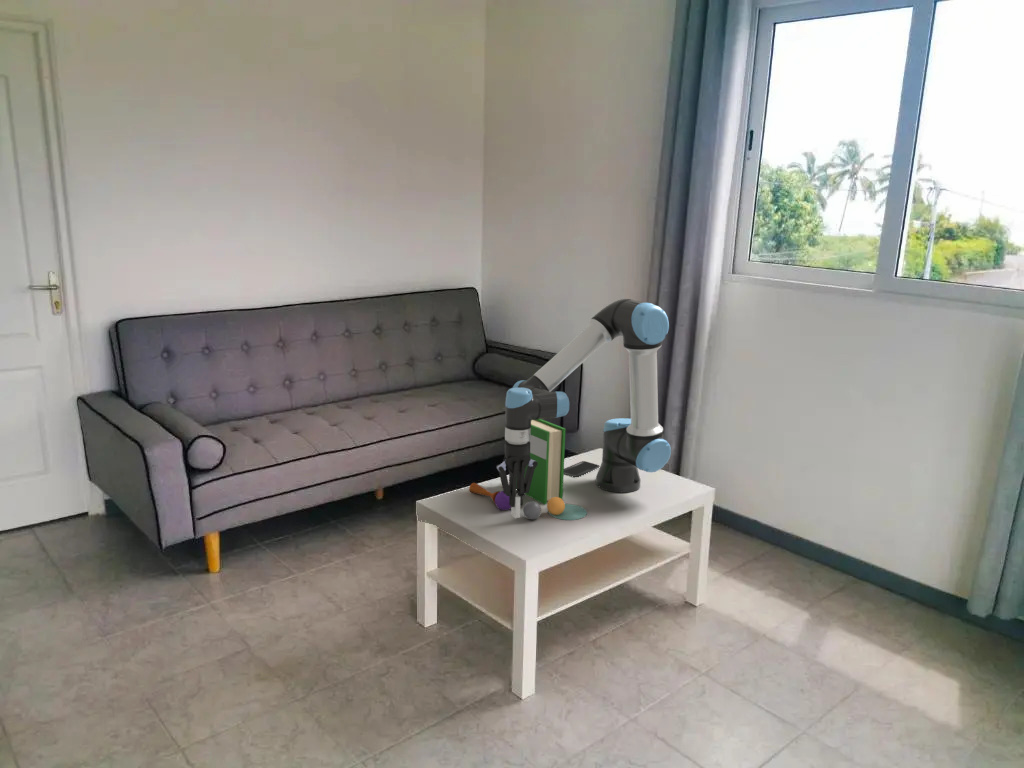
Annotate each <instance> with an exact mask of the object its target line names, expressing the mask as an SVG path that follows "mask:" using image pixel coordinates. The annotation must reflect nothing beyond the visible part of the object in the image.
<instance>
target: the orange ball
mask: <svg viewBox="0 0 1024 768" xmlns="http://www.w3.org/2000/svg"><path fill="white" fill-rule="evenodd" d="M565 504H566V503H565V501H564V500H562V499H561V498H559V497H553V498H551V499H550V500H548V501H547V504H546V509H547V512H548V511H549V512H550V513H551V514H553V515H559V514H561V513H562V512H563V511H564V509H565Z"/></svg>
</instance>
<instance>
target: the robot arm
mask: <svg viewBox="0 0 1024 768" xmlns="http://www.w3.org/2000/svg"><path fill="white" fill-rule="evenodd" d="M588 321H589V322H588V325H587V326H586V327H585V328H584V329H583V330H582V331H580V332H579V334H577V335H576V336H575V337H574V338H572V340H571V341H569V343H568V344H566V345H565V346H564V347H563V348H562V349H560V351H559V352H557V353H556V354H555V355H554V356H553V357H552V358H550V359H549V360H548V361H547V362H546V363H545V364H544V365H543V366H542V367H541V368H539V369H538V370H537V371H536V372H535V373H534V374H532V375H531V377H529V378H528V379H527V380H524V379H523V380H517V382H515V383H514V385H513V386H512V387H511V388H509V389H508V390H507V391H506V396H505V402H504V406H505V418H504V419H505V425H504V440H505V441H504V457H503V461H502V463H500V464H496V466H495V468H496V469H497V471H498V473H499V479H500V484H501V488H502V491H503V493H504V494H506V495H507V496H509V505H510V506H511V512H510V513H511V516H512V517H514V519H517V518H521V506H523V503H524V502H523V501H524V499H523V498H524V497H525V496H526V494H525V493H528V492H529V490H530V486H531V482H532V478H533V474H534V470H535V468H536V466H537V464H538V463H537V462H536V461H534V460H533V459H531V457H530V439H531V420H537V419H542V420H545V419H553V418H554V419H556V418H561V417H565V416H566V415H567V414H568V413H569V411H570V400H569V396H568V395H567V393H565V392H564V391H554V389H556V388H557V386H558V385H560V384H561V383H562V382H563V381H564V380H565V379H567V377H569V376H570V375H571V374H572V373H573V372H574V371H575V370H576V369H578V367H580V366H581V365H582V364H583V363H584V362H585V361H587V359H588V358H589V357H590V356H592V355H593V354H594V353H595V352H596V351H597V350H598V349H600V348H601V347H602V346H603V345H604V344H605V343H608V344H609V343H612V341H613V340H614V339H616V338H617V337H621V336H622V339H623V341H622V343H623V349H625V350H626V351H627V352H628V368H629V369H628V370H629V372H628V373H629V404H630V418H626V417H625V418H622V417H621V418H612V419H608V420H606V421H605V422H604V425H603V431H602V432H603V435H602V436H603V437H602V438H603V439H602V456H601V458H602V459H601V464H600V465H599V466H600V468H599V469H598V471H597V474H596V477H595V485H596V486H597V487H598V488H600V489H602V490H605V491H609V492H611V493H612V492H613V493H631V492H636V491H638V490H639V489H640V488H641V476H640V473H639V471H640V470H641V471H644V472H646V473H655V472H658V471H660V470H662V469H663V468H664V467H665V465H666V464H668V462H669V460H670V458H671V453H672V449H671V448H672V447H671V445H670V443H669V442H668V441H667V440H666V439H664V427H663V426H662V425H661V424H660V423H659V400H658V399H659V398H658V397H659V396H658V394H659V391H658V354H657V353H658V350H659V349H660V348H661V347H662V346H663V345H662V342H663V341H664V340H665V339H666V335H668V332H669V329H670V323H669V317H668V315H667V313H666V311H665V310H664V309H662V308H661V307H660V306H659V305H656V304H653V303H650V302H643V301H639V300H634V299H631V298H621V299H619V300H618V299H617V300H616V301H613V302H611V303H610V304H608V305H606V306H605V307H604V308H602V309H601V310H600V311H598V312H597V313H596V314H594V316H592V318H590V319H589V320H588ZM527 465H528V466H527ZM506 467H507V468H506ZM526 467H527V470H526V474H525V468H526ZM506 470H508V474H509V475H507V472H506ZM524 474H525V478H524ZM508 476H509V477H508ZM516 478H517V490H516Z"/></svg>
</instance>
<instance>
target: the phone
mask: <svg viewBox="0 0 1024 768" xmlns="http://www.w3.org/2000/svg"><path fill="white" fill-rule="evenodd" d="M600 466H601V465H599V464H596V463H593V462H589V461H584V460H582V461H579V462H577V463H574V464H571V465H570V466H568V467H564V475H565V474H566V475H565V476H568V475H569V476H568V477H572V476H573V477H572V478H575V477H578V478H580V477H582V476H581V475H583V476H584V474H585V475H587V474H589V473H592V472H594V471H596V470H598V469H597V468H599V467H600ZM595 469H596V470H595ZM593 470H594V471H593ZM591 471H592V472H591ZM588 472H589V473H588ZM586 473H587V474H586ZM579 476H580V477H579Z"/></svg>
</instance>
